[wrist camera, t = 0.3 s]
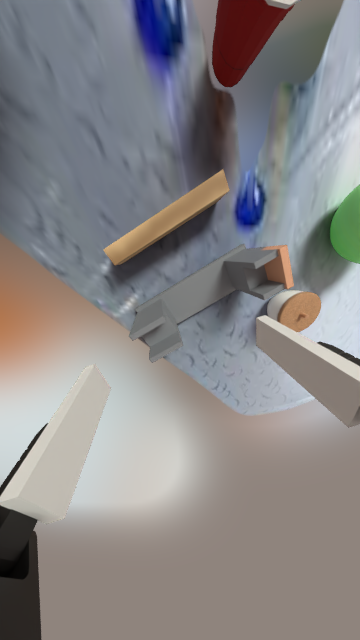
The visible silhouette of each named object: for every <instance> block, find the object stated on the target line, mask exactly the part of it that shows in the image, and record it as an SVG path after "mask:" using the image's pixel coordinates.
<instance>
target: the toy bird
mask: <svg viewBox="0 0 360 640" xmlns="http://www.w3.org/2000/svg"><path fill="white" fill-rule="evenodd" d="M330 240H331V243H332V246H333V248H334V249H335V251H336V252H337V253H338V254H339V255H340V256H342V257H343V258H345V259H347V260H349V261H351V262H354V263H359V264H360V185H359V186H357V187H356V188H355V189H354V190H353V191H352V192H351V193H350V194H349V195H348V196H347V197H346V198H345V199H344V201H343V202H342V203H341V205H340V206H339V208H338V209H337V211H336V213H335V215H334V217H333V219H332V222H331V227H330Z"/></svg>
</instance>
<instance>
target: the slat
mask: <svg viewBox="0 0 360 640" xmlns="http://www.w3.org/2000/svg"><path fill="white" fill-rule="evenodd" d="M228 191H229V187H228V184H227V180H226V177H225V174H224V170H221V171H220V172H218V173H217V174H215V175H214V176H212V177H211V178H209V179H208V180H206V181H205V182H203V183H202V184H200V185H199V186H197V187H196V188H194V189H193V190H191V191H190V192H188V193H187V194H186V195H184V196H183V197H181V198H180V199H178V200H177V201H175V202H174V203H172V204H171V205H169V206H168V207H166V208H165V209H163V210H162V211H160V212H159V213H157V214H156V215H154V216H153V217H151V218H150V219H148V220H147V221H145V222H144V223H142V224H141V225H139V226H138V227H136V228H135V229H133V230H132V231H130V232H129V233H128V234H126V235H125V236H123V237H122V238H120V239H119V240H117V241H116V242H114V243H113V244H111V245H110V246H108V247H107V248H105V249H104V252H105V253H106V254H107V256H108V257H109V258H110V260H111V261H112V262H113V264H114V265H120V264H123V263H124V262H126V261H128V260H129V259H131V258H132V257H134V256H135V255H137V254H138V253H140V252H141V251H143V250H144V249H146V248H147V247H149V246H151V245H152V244H154V243H155V242H157V241H158V240H160V239H161V238H163V237H164V236H166V235H167V234H169V233H170V232H172V231H174V230H175V229H177V228H178V227H180V226H181V225H183V224H184V223H186V222H187V221H189V220H190V219H192V218H193V217H195V216H197V215H198V214H200V213H201V212H203V211H204V210H206V209H207V208H209V207H210V206H212V205H213V204H215V203H216V202H218V201H219V200H220V199H221V198H222V197H223V196H224V195H225V194H226V193H227V192H228Z"/></svg>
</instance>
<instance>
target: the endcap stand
mask: <svg viewBox="0 0 360 640" xmlns="http://www.w3.org/2000/svg"><path fill="white" fill-rule="evenodd" d="M293 286H294V283H293V277H292V271H291V265H290V259H289V254H288V248H287V245H280V246H270V247H260V248H249V249H246V247H245V244H241V245H239V246H238V247H236V248H234V249H233V250H231V251H229V252H228V253H226V254H224V255H223V256H221V257H220V258H218V259H216V260H215V261H213V262H211V263H210V264H208V265H206V266H205V267H203V268H201V269H200V270H198V271H196V272H195V273H193V274H191V275H190V276H188V277H186V278H185V279H183V280H181V281H180V282H178V283H176V284H175V285H173V286H171V287H170V288H168V289H167V290H165V291H163V292H162V293H160V294H158V295H157V296H155V297H153V298H152V299H150V300H148V301H147V302H145V303H143V304H142V305H140V306H138V307H137V308H136V309H135V310H136V312H137V315H136V318H135V321H134V323H133V326H132V329H131V332H130V334H129V337H130V338H131V339H132V340H135V339H137V338H138V337H140V336H141V337H142V338H143V339H144V341H145V342H146V343H147V344H148V345H149V347H150V353H149V359H150V361H151V362H152V363H153V362H155V361H156V360H158V359H160V358H162V357H164V356H165V355H167V354H169V353H171V352H173V351H174V350H176V349H178V348H180V347H182V346H183V343H182V339H181V336H180V333H179V329H178V326H177V324H178V323H180V322H181V321H183V320H185V319H187V318H188V317H190V316H192V315H194V314H195V313H197V312H199V311H201V310H202V309H204V308H206V307H208V306H209V305H211V304H213V303H214V302H216V301H218V300H220V299H221V298H223V297H225V296H227V295H228V294H230V293H232V292H234V291H235V290H237V289H238V290H240V291H243V292H245V293H248V294H250V295H253V296H255V297H258V298H260V299H263V300H266V299H268V298H270V297H271V296H273V295H275V294H277V293H279V292H280V291H282V290H284V289H289V288H291V287H293Z"/></svg>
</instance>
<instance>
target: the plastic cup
mask: <svg viewBox="0 0 360 640" xmlns="http://www.w3.org/2000/svg"><path fill="white" fill-rule="evenodd" d="M299 1H301V0H219V1H218V8H217V15H216V27H215V33H214V40H213V51H212V65H213V69H214V73H215V76H216V78H217V79H218V81H219V82H220V83H221V84H222V85H223V86H225V87H233V86H234V85H236V84H237V83H238V82H239V81H240V80H241V78H242V77H243V75H244V74H245V72H246V71H247V69H248V68H249V66H250V65H251V64H252V63H253V61H254V60H255V58H256V57H257V55H258V54H259V52H260V51H261V49H262V48H263V46H264V45H265V44H266V42H267V41H268V39H269V38H270V36H271V35H272V33H273V32H274V30H275V29H276V27H277V26H278V24H279V23H280V21H282V20H283V19H284V17H285V16H286V14H287V13H288V11H290V10H291V9H292V8H293V6H294V5H295V3H298V2H299Z"/></svg>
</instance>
